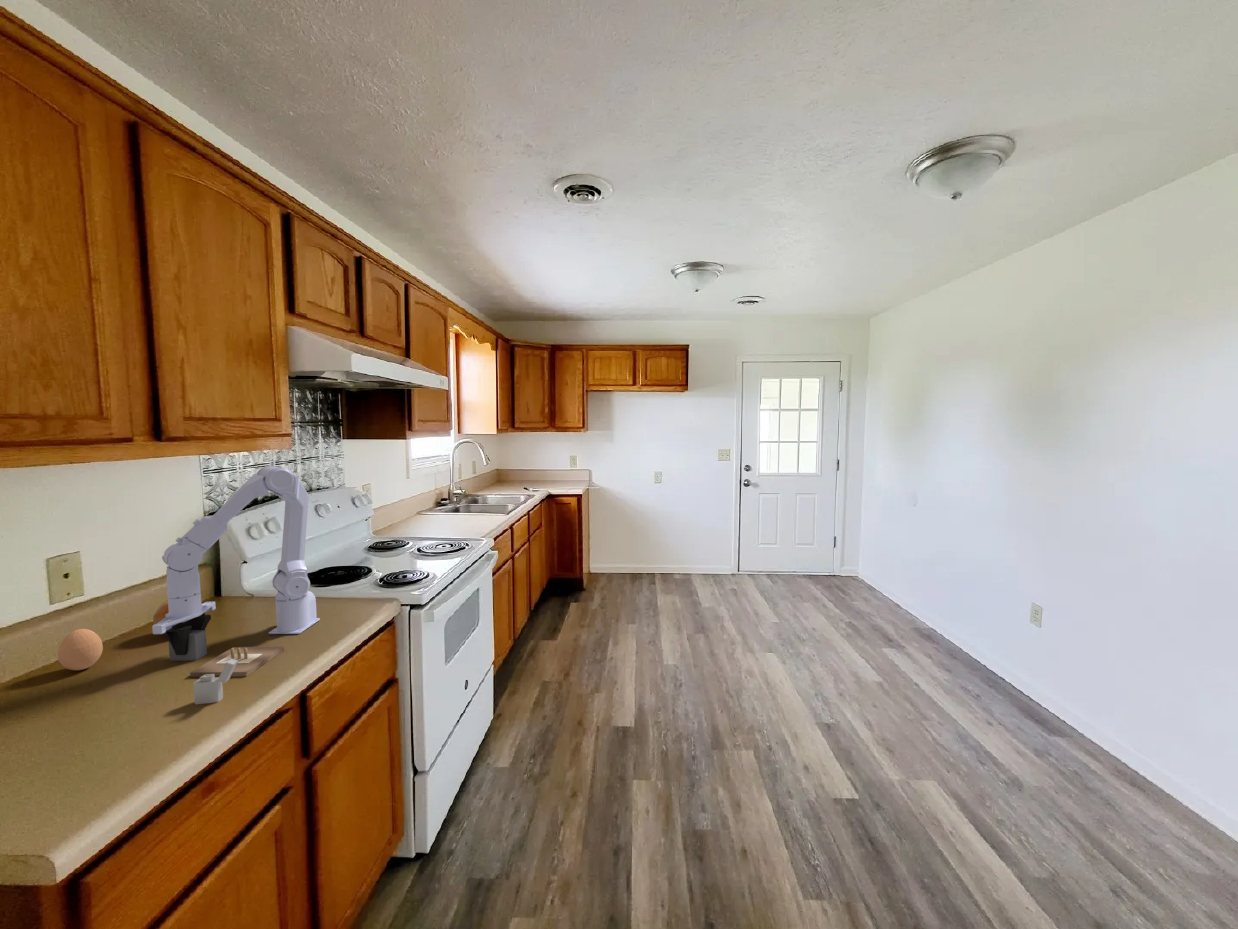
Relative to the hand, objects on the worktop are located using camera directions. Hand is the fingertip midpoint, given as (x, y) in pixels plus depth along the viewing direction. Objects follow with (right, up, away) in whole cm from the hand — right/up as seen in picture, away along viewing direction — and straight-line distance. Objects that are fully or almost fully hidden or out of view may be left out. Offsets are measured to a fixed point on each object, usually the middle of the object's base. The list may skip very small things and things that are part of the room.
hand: (188, 650), depth 112 cm
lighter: (+22, -3, -17) cm, 28 cm away
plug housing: (0, -2, 0) cm, 2 cm away
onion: (-14, -1, +14) cm, 20 cm away
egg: (-19, -2, -5) cm, 20 cm away
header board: (+14, -2, -2) cm, 14 cm away
